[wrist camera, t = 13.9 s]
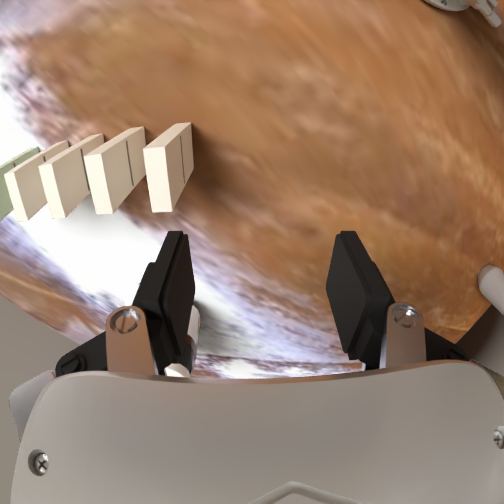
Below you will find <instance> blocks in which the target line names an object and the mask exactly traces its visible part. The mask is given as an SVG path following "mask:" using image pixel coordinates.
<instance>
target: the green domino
mask: <svg viewBox="0 0 504 504" xmlns="http://www.w3.org/2000/svg"><path fill="white" fill-rule="evenodd" d="M38 153H39V150H38V147H34V148H31V149H28V150H27V151H25V152H23V153H21V154H20V155H18V156H16V157H14V158H13V159H11V160H9V161H8V162H6V163H4V164H3V165H1V166H0V221H1V220H2V219H3V218H4V217H6V216H7V215H8V214H9V213H10V212H11V211H12V210H13V209H14V208H13V205H12V201H11V198H10V195H9V191H8V188H7V184H6V181H5V177H4V174H6V173H7V172H9V171H10V170H12V169H13V168H15V167H16V166H18V165H19V164H21V163H23V162H24V161H26V160H28V159H29V158H31V157H33V156H34V155H36V154H38Z"/></svg>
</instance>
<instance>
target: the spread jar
mask: <svg viewBox="0 0 504 504" xmlns="http://www.w3.org/2000/svg"><path fill="white" fill-rule="evenodd" d="M139 285H140V284H139V283H134V284H133V285H132V286H131V288H130V290H129V293H128V296H127V299H126V304H125V306H131V305H132V303H133V300H134V298H135V295H136V292H137V290H138V287H139ZM199 330H200V313H199V310H198V308H197V307H196V306H195V305H194V304H193V306H192V311H191V316H190V322H189V328H188V333H187V339H186V345H185V351H184V355H183V356H179V360H178V364H172V363H171V365H169V366H168V367H166V368H165V369H166V373H167V376H174V377H190V375H191V373H192V371H193V368H194V364H195V360H196V353H197V344H198V337H199Z"/></svg>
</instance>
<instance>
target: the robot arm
mask: <svg viewBox="0 0 504 504" xmlns="http://www.w3.org/2000/svg"><path fill="white" fill-rule="evenodd" d="M424 1H426V2H428V3H429V4H431V5H433V6H435V7H437V8H440V9H442V10H447V11H461V10H465V9H467V8H469V7H470V6H472V7H473V8H474V9H476V10H479V11H480V12H481V13H482V15H483V17H484V18H485V19H486V20H487V21H488V22H489V24H490V25H491V26H492V27H498V26H499V25H500V24H501V19H500V18H499V17H498V16H497V14H496V13H495V12H494V11H493V10H492V9H491V8H490V7H489V6H488V5H487V4H486V3H488V4H489V5H490V6H491V7H496V6H497V5H498V3H497V1H496V0H424ZM326 291H327V295H328V298H329V302H330V305H331V309H332V312H333V316H334V319H335V323H336V326H337V330H338V333H339V337H340V341H341V345H342V348H343V352H344V353H348V357H349V360H357V359H359V361H361V362H363V364H362V370H361V371H360V372H352V373H342V374H332V375H321V376H308V377H292V378H267V379H215V378H190V377H174V376H167V373H166V369H165V368H166V367H168V366H169V365H171V363H172V364H178V360H179V356H183V355H184V351H185V345H186V339H187V333H188V328H189V322H190V316H191V311H192V306H193V300H194V295H195V282H194V275H193V268H192V262H191V255H190V248H189V240H188V235H187V234H183V231H168V233H167V236H166V238H165V240H164V243H163V245H162V247H161V250H160V252H159V255H158V257H157V260H156V262H150V263H149V264H148V266H147V268H146V270H145V273H144V275H143V278H142V280H141V283H140V285H139V287H138V290H137V292H136V295H135V298H134V300H133V303H132V305H131V306H123V307H120V308H117V309H116V310H114V311H113V312H112V313H111V314H110V315H109V316H108V318H107V320H106V325H105V326H106V331H105V332H103V333H101V334H99V335H98V336H96V337H94V338H93V339H91V340H89V341H87V342H86V343H84V344H82V345H81V346H79V347H77V348H76V349H74V350H72V351H70V352H69V353H67V354H65V355H64V356H63V357H61V359H60V360H59V361H58V363H57V365H56V369H55V370H54V371H52V370H51V369H49V370H47V371H45V372H44V373H42V374H40V375H38V376H36V377H35V378H33V379H31V380H30V381H27V382H26V383H24V384H22V385H20V386H18V387H17V388H16V389H14V390H13V391H12V393H11V395H10V398H9V406H10V410H11V413H12V417H13V421H14V424H15V427H16V430H17V434H18V436H19V440H20V442H21V445H20V449H19V453H18V458H17V462H16V468H15V473H14V478H13V484H12V493H11V504H504V377H503V376H502V375H500V374H498V373H497V372H494V371H493V370H491V369H489V368H487V367H485V366H484V365H482V364H480V363H478V362H476V361H474V360H471V361H470V362H469V361H468V357H467V355H466V353H465V352H464V351H463V349H461V348H460V347H459V346H457V345H455V344H454V343H452V342H450V341H448V340H446V339H445V338H443V337H441V336H439V335H437V334H436V333H434V332H432V331H430V330H428V329H427V328H425V327H424V321H423V317H422V314H421V313H420V311H419V310H418V309H417V308H416V307H414V306H413V305H411V304H408V303H405V302H395V300H394V298H393V296H392V294H391V292H390V290H389V288H388V286H387V285H386V283H385V281H384V279H383V277H382V275H381V273H380V271H379V269H378V268H377V266H376V264H375V263H374V262H373V261H372V260H371V258H370V257H369V255H368V253H367V251H366V249H365V248H364V246H363V244H362V242H361V240H360V239H359V237H358V235H357V233H356V232H355V231H341V233H340V234H337V235H336V238H335V243H334V249H333V254H332V259H331V264H330V269H329V273H328V278H327V283H326Z"/></svg>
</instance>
